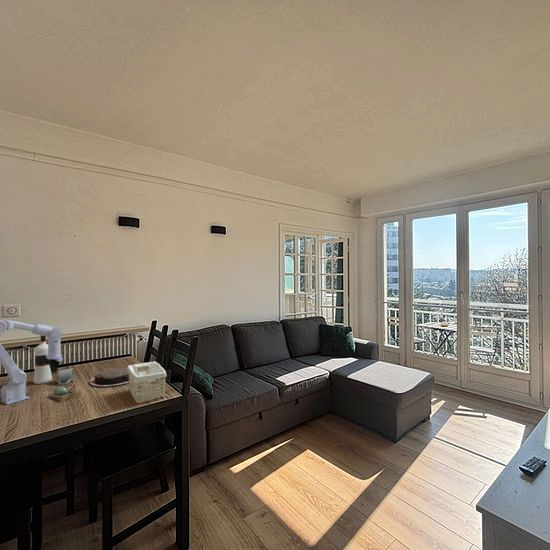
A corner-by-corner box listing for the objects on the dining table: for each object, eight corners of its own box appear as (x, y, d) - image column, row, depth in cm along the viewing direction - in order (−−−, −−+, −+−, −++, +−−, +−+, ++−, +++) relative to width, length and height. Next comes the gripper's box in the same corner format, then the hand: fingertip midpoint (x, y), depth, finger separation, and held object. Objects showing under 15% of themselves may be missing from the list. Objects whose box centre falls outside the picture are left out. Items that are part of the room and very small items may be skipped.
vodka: (32, 381, 188) (33, 332, 188) (51, 378, 194) (52, 331, 194) (33, 385, 181) (33, 335, 181) (52, 382, 187) (53, 333, 187)
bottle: (54, 396, 167) (63, 399, 162) (52, 389, 166) (60, 392, 161) (63, 391, 170) (71, 395, 166) (61, 384, 169) (69, 387, 165)
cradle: (61, 401, 158) (61, 397, 158) (49, 397, 164) (49, 392, 164) (80, 395, 166) (80, 391, 166) (69, 391, 172) (69, 387, 172)
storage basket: (167, 398, 164) (167, 371, 164) (134, 405, 155) (134, 376, 155) (156, 385, 183) (156, 360, 184) (126, 390, 174) (126, 365, 174)
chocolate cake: (97, 374, 202) (97, 364, 202) (142, 371, 210) (142, 362, 210) (82, 390, 175) (82, 378, 175) (135, 386, 183) (135, 375, 183)
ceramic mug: (58, 380, 189) (58, 368, 189) (73, 378, 193) (73, 366, 193) (55, 386, 180) (55, 373, 180) (72, 384, 184) (72, 371, 184)
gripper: (68, 348, 173) (68, 372, 173) (55, 345, 180) (55, 368, 180) (54, 351, 167) (54, 376, 167) (41, 348, 174) (41, 371, 174)
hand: (54, 372), depth 173 cm, fingers closed
